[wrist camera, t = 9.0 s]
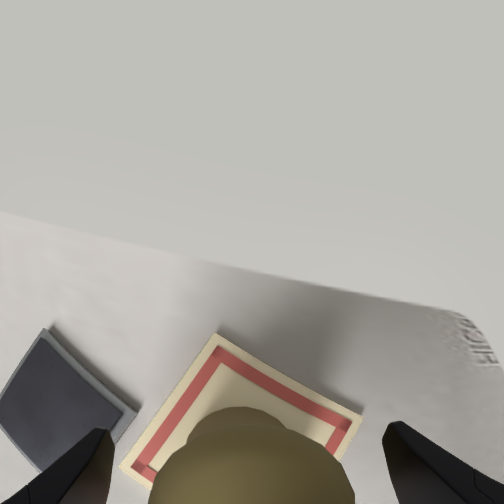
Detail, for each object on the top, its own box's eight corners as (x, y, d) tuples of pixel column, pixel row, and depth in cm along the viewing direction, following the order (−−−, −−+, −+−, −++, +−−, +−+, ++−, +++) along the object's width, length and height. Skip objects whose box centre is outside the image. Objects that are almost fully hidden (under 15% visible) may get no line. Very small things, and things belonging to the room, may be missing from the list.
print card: (360, 417, 16) (364, 417, 15) (271, 550, 11) (272, 553, 11) (215, 334, 18) (214, 331, 17) (120, 465, 13) (117, 467, 13)
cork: (318, 449, 14) (437, 491, 5) (246, 524, 12) (268, 644, 2) (235, 384, 16) (243, 349, 6) (160, 458, 14) (65, 518, 4)
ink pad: (137, 412, 15) (132, 412, 14) (74, 500, 12) (67, 503, 11) (48, 330, 17) (40, 326, 16) (-6, 413, 13) (-15, 412, 12)
